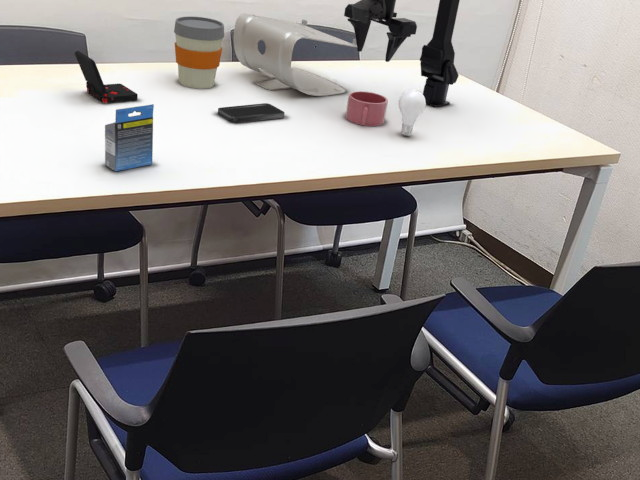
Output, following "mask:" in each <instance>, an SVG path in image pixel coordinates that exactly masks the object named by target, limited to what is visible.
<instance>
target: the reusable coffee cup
mask: <svg viewBox="0 0 640 480" xmlns="http://www.w3.org/2000/svg"><path fill="white" fill-rule="evenodd" d="M173 28H174V29H173V30H174V31H173V32H174V34H175V42H174V53H175V54H174V56H175V63H176V64H177V69H178V71H177V73H178V83H179V84H180V85H181V86H184V87H188V88H191V89H200V90H201V89H202V90H203V89H210V88H213V87H214V86H215V81H216V76H217V71H218V68H219V67H220V64H221V58H222V53H223V47H222V44H223V40H224V38H225V24H224V23H223V22H222V21H219V20H217V19H214V18H209V17H203V16H180V17H177V18H176V19H175V22H174V27H173Z"/></svg>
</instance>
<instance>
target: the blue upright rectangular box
mask: <svg viewBox="0 0 640 480" xmlns="http://www.w3.org/2000/svg"><path fill="white" fill-rule="evenodd" d="M154 107H155V104H154V103H152V104H146V105H138V106H132V107H124V108H116V109H115V122H112V123H107V124H105V125H104V165H105V167H106V168H108V169H109V170H112V171H113V172H116V173H117V172H121V171H125V170H130V169H135V168H140V167H144V166H151V165H153V155H154V153H153V149H154V148H153V145H154V143H153V142H154ZM134 112H135V113H139V114H137V115H130V114H133V113H134ZM129 115H130V116H129Z"/></svg>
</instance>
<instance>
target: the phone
mask: <svg viewBox="0 0 640 480" xmlns="http://www.w3.org/2000/svg"><path fill="white" fill-rule="evenodd" d="M217 115H218V116H221V117H223V118H224V119H225V120H227V121H229V122H231V123H233V124H238V123H239V124H240V123H249V122H257V121H258V122H259V121H266V120H276V119H283V118H285V111H284V110H282V109H280V108H278V107H277V106H275V105H273V104H272V103H271V104H270V103H268V102H267V103H265V102H264V103H255V104H254V103H253V104H245V105H244V104H243V105H234V106H223V107H218V108H217Z"/></svg>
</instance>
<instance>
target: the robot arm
mask: <svg viewBox="0 0 640 480" xmlns="http://www.w3.org/2000/svg"><path fill="white" fill-rule="evenodd" d="M396 3H397V0H359V1H356V2H355V3H347V5H346V6H345V7H344V14H343V17H346V18H347V20H346V21H347V22H349V23H350V24H351V26H352V27H353V31H354V34H355V35H354V36H355V39H356V43H357V47H356V50H357V52H358V53H360V52H362V51H363V48H364V47H365V43H366V40H367V37H368V34H369V30H370V27H371V24H372V22H375V23H377V24H381V25H383V26H386V27H387V28H388V30H389V32H388V31H387V32H386V36H387V38H388V40H387V46H386V52H385V59H384V61H385V62H386V63H389V62H390V61H391V59H392V58H393V57H394V55H395V54H396V52H398V49H399V48H400V47H401V45H403V43H404V42H405V40H406V39H407V38H411V37H412V36H411V35H416V33H417V29H418V25H417V22H416V21H415V20H412V19H408V18H406V17H397V16H398V15H397V14H398V13H397V12H396V11H395V8H396ZM459 5H460V0H439V1H438V7H437V11H436V16H435V23H434V27H433V33H432V37H431V39H430V41H428V43H427V44H424V45H423V46H422V48H421V55H420V58H419V62H420V63H419V65H420V76H421V77H424V78H426V79H425V84H424V86H423V92H422V94H423V95H424V97H425V100H426V105H429V106H432V107H435V108H436V107H442V106H448V105H450V104H451V103H450V101H448V100H447V97H448V92H449V87H450V86H451V85H454V84H456V83H457V80H458V79H459V75H460V74H459V72H458V71H457V68H456V66H455V56H456V52H455V49H454V45H453V42H452V41H453V34H454V30H455V25H456V19H457V15H458V10H459Z"/></svg>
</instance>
